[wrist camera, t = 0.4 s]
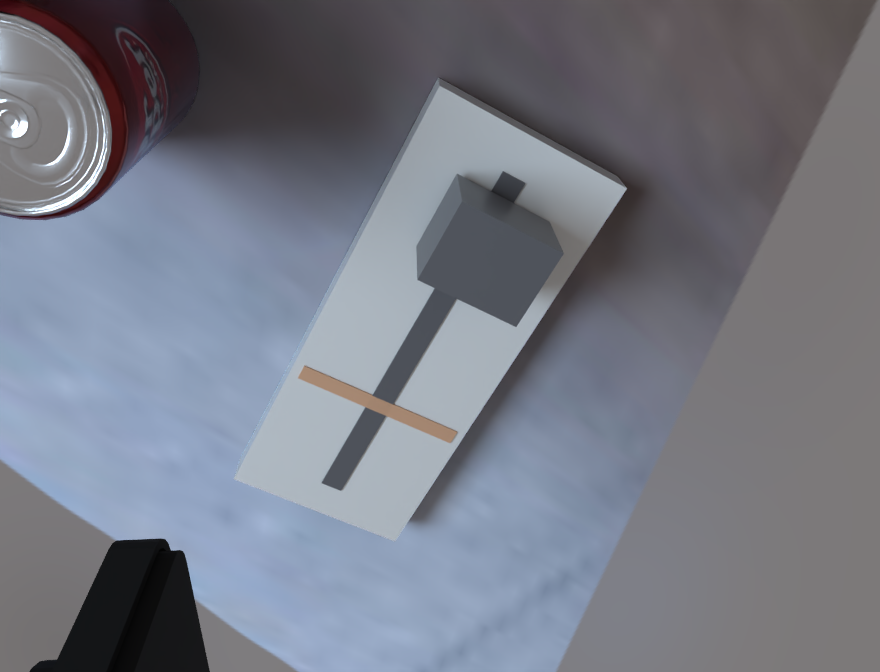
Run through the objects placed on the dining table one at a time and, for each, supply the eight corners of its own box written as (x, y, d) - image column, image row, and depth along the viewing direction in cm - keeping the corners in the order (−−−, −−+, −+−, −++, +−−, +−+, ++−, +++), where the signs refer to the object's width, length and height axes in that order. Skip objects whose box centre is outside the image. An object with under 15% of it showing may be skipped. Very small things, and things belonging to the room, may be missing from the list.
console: (438, 77, 38) (439, 86, 36) (617, 176, 40) (627, 189, 38) (240, 457, 47) (233, 480, 45) (395, 518, 50) (395, 542, 48)
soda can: (229, 27, 37) (155, 76, 26) (167, 166, 39) (78, 262, 29) (68, -65, 35) (-81, -53, 24) (15, 89, 37) (-140, 160, 27)
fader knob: (457, 173, 37) (462, 201, 34) (549, 221, 39) (563, 253, 35) (416, 246, 39) (417, 280, 36) (506, 290, 40) (516, 327, 37)
